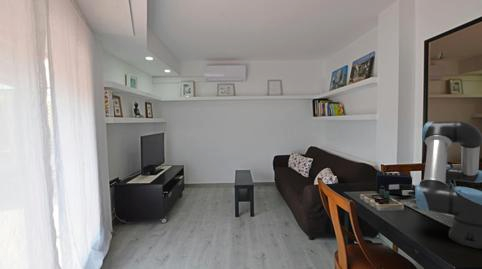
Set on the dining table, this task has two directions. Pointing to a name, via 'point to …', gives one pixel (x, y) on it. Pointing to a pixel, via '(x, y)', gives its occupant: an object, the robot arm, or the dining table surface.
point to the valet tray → (381, 207)
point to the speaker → (392, 181)
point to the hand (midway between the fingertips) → (395, 189)
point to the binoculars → (382, 196)
